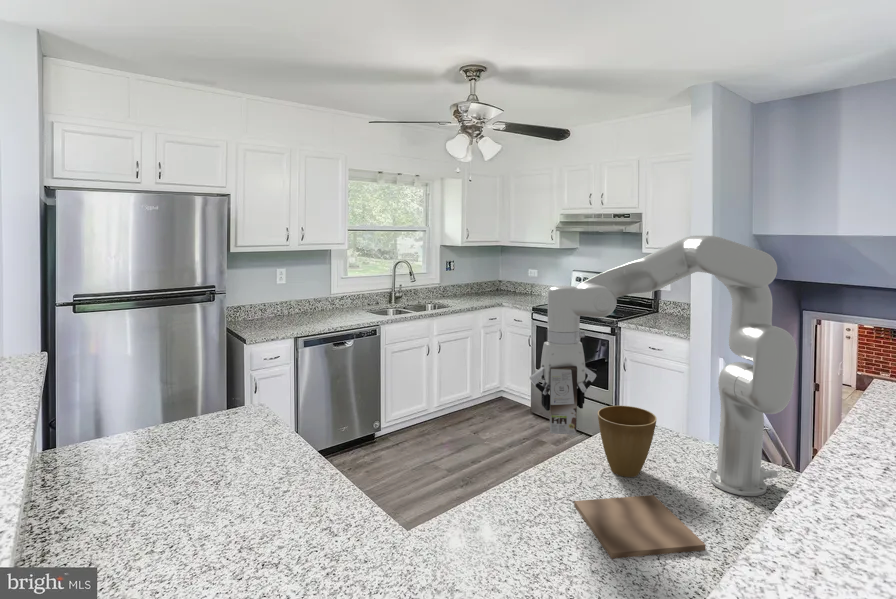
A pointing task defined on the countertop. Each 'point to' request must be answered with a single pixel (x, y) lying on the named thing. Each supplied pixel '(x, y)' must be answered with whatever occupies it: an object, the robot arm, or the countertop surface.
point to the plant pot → (626, 437)
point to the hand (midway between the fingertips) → (562, 407)
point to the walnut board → (637, 527)
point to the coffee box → (563, 400)
